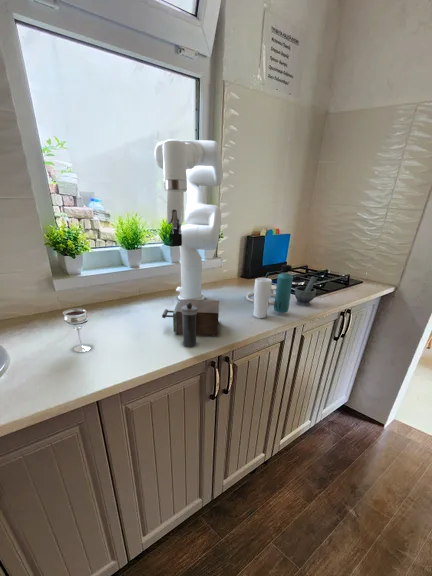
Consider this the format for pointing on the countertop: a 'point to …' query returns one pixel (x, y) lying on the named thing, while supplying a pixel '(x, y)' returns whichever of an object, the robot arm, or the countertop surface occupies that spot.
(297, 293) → the mortar and pestle
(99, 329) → the countertop surface
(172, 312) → the drawer
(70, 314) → the wineglass
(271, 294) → the hand towel holder
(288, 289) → the beverage bottle
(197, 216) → the robot arm
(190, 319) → the pepper mill
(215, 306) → the cabinet
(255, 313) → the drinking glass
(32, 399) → the countertop surface
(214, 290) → the countertop surface
